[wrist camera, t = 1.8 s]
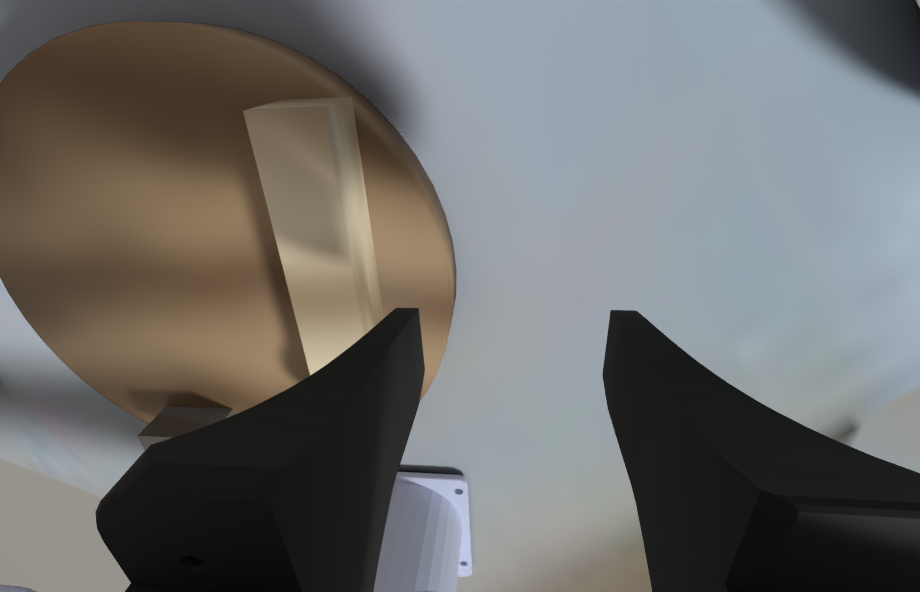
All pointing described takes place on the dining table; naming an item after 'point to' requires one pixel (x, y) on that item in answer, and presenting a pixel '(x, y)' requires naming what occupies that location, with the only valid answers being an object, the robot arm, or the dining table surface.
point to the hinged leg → (319, 219)
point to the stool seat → (185, 217)
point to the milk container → (917, 9)
